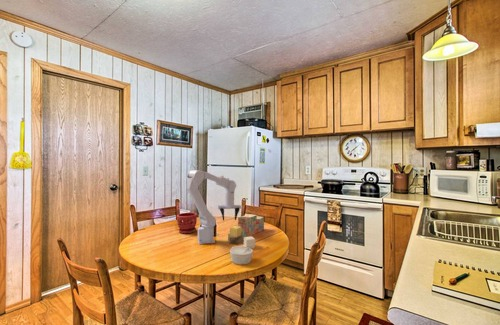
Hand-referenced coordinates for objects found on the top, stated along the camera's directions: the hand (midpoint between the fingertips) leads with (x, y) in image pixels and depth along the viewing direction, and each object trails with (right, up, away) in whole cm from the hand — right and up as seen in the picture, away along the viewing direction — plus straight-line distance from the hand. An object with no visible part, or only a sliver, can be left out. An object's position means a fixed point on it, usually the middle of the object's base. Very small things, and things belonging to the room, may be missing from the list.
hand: (229, 219), depth 158 cm
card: (+7, -11, -23) cm, 26 cm away
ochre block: (+5, -7, -10) cm, 13 cm away
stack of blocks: (+14, -11, +8) cm, 19 cm away
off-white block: (+13, -11, -19) cm, 25 cm away
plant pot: (-30, -10, +9) cm, 33 cm away
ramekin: (+9, -11, -38) cm, 41 cm away
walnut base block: (+4, -11, -10) cm, 15 cm away
